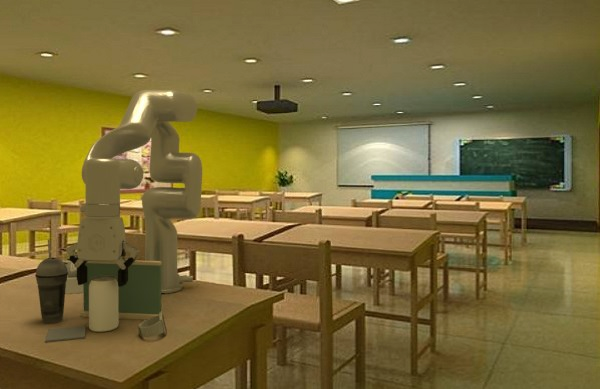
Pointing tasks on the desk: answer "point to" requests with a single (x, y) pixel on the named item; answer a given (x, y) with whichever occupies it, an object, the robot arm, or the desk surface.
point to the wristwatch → (152, 326)
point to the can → (103, 303)
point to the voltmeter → (71, 268)
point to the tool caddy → (73, 285)
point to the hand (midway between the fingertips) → (102, 284)
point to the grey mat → (65, 333)
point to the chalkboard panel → (130, 288)
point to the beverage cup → (51, 288)
